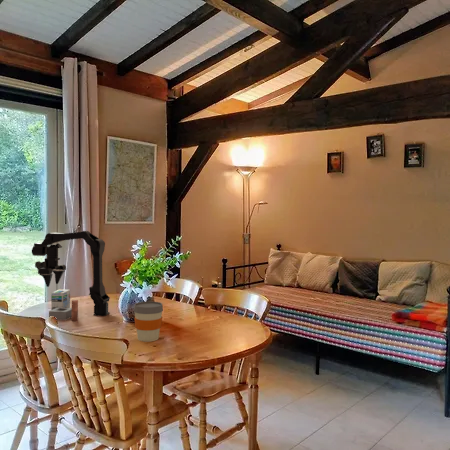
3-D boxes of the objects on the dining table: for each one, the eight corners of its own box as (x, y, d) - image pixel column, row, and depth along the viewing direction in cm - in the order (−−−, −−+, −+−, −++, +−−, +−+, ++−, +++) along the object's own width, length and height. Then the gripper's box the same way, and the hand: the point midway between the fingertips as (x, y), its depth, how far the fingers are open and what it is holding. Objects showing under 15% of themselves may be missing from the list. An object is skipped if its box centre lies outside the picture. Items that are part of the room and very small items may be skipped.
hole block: (74, 315, 227) (74, 308, 227) (65, 320, 218) (65, 312, 218) (58, 314, 228) (58, 307, 228) (48, 319, 219) (48, 311, 219)
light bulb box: (63, 312, 233) (63, 292, 232) (50, 312, 233) (50, 292, 232) (70, 308, 243) (70, 289, 243) (58, 308, 243) (58, 288, 243)
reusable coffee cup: (128, 337, 191) (128, 303, 191) (154, 332, 199) (154, 300, 198) (141, 344, 181) (142, 308, 181) (167, 339, 189) (168, 305, 188)
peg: (78, 319, 219) (79, 299, 219) (76, 321, 216) (76, 301, 216) (73, 319, 220) (73, 299, 219) (70, 320, 217) (70, 300, 216)
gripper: (47, 254, 243) (47, 281, 244) (28, 257, 225) (28, 287, 225) (66, 254, 242) (66, 282, 242) (48, 258, 223) (48, 288, 224)
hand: (52, 285), depth 233 cm, fingers open, 9 cm apart
